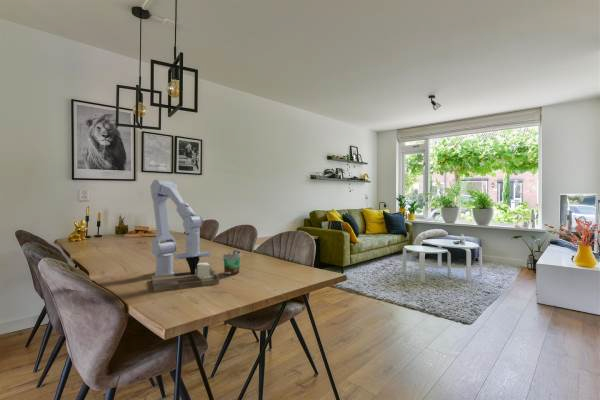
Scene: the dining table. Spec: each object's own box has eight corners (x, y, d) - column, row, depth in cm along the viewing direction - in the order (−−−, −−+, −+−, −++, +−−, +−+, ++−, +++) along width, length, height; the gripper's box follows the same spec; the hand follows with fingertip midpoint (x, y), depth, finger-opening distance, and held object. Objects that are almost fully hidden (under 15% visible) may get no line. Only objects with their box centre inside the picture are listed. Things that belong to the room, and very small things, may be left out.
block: (195, 274, 139) (195, 263, 139) (207, 273, 142) (207, 262, 142) (197, 277, 135) (197, 265, 135) (209, 276, 137) (209, 264, 137)
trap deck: (151, 280, 137) (151, 272, 137) (209, 273, 149) (209, 266, 149) (154, 292, 121) (154, 283, 121) (219, 283, 133) (219, 275, 133)
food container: (235, 277, 144) (235, 255, 144) (223, 276, 145) (223, 254, 145) (245, 270, 156) (245, 250, 156) (233, 269, 157) (234, 249, 157)
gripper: (176, 245, 129) (176, 278, 129) (211, 243, 136) (211, 274, 136) (173, 243, 135) (173, 274, 136) (208, 241, 142) (208, 271, 142)
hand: (192, 274), depth 136 cm, fingers closed
